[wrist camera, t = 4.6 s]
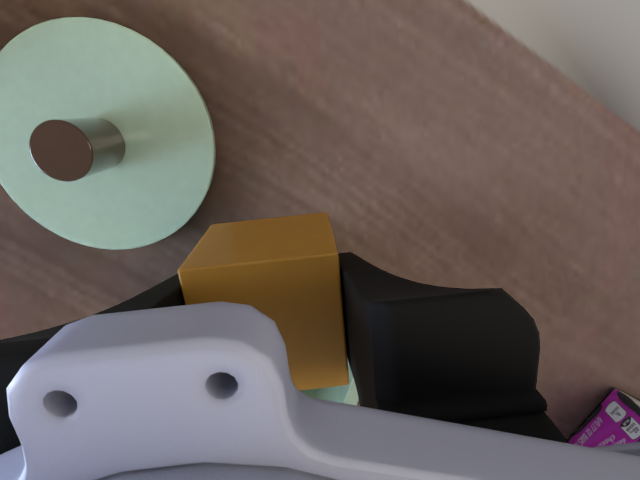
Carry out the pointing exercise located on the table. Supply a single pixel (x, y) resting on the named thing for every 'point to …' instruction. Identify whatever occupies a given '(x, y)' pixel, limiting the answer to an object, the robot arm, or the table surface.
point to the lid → (102, 133)
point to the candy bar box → (611, 422)
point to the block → (279, 287)
